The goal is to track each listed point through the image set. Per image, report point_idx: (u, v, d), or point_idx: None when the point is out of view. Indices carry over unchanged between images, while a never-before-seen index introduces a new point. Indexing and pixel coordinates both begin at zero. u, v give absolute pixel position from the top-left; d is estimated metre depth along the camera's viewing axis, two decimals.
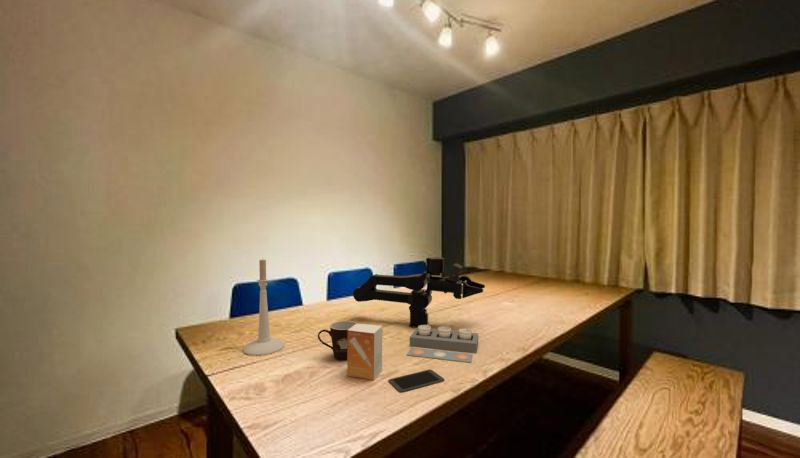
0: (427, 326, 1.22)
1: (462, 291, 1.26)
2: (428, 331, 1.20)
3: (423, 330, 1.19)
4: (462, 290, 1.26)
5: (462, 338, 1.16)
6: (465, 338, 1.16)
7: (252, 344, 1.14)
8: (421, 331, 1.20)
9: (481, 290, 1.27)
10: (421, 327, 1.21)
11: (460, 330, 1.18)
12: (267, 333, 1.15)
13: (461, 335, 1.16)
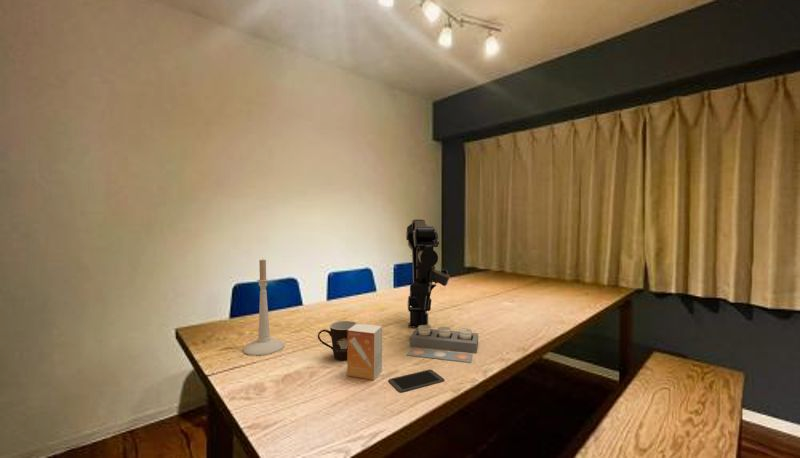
0: (427, 326, 1.22)
1: (419, 291, 1.14)
2: (428, 331, 1.20)
3: (423, 330, 1.19)
4: (420, 291, 1.14)
5: (462, 338, 1.16)
6: (465, 338, 1.16)
7: (252, 344, 1.14)
8: (421, 331, 1.20)
9: (422, 308, 1.17)
10: (421, 327, 1.21)
11: (460, 330, 1.18)
12: (267, 333, 1.15)
13: (461, 335, 1.16)
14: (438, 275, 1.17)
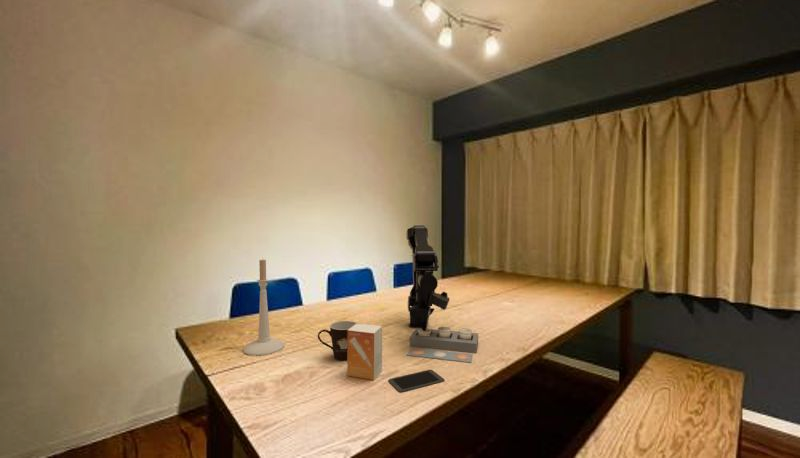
0: (427, 330, 1.22)
1: None
2: (428, 335, 1.20)
3: (423, 334, 1.19)
4: None
5: (462, 338, 1.16)
6: (465, 338, 1.16)
7: (252, 344, 1.14)
8: (421, 335, 1.20)
9: (424, 329, 1.21)
10: (421, 331, 1.21)
11: (460, 330, 1.18)
12: (267, 333, 1.15)
13: (461, 335, 1.16)
14: (438, 299, 1.17)
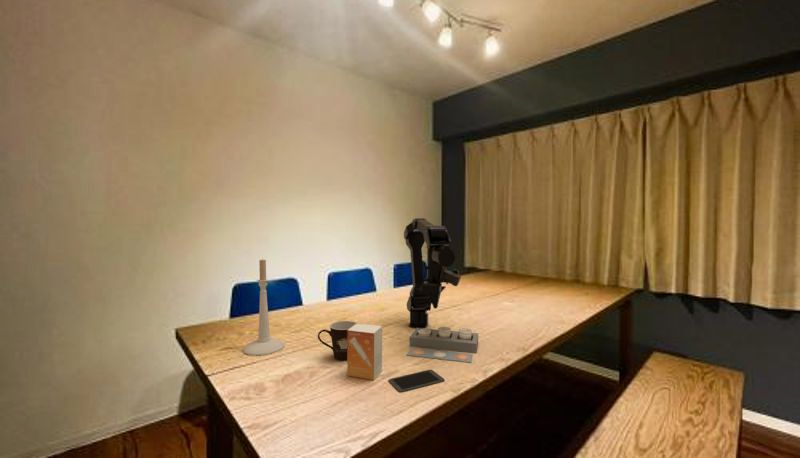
0: (427, 330, 1.22)
1: None
2: (428, 335, 1.20)
3: (423, 334, 1.19)
4: None
5: (462, 338, 1.16)
6: (465, 338, 1.16)
7: (252, 344, 1.14)
8: (421, 335, 1.20)
9: (435, 307, 1.19)
10: (421, 331, 1.21)
11: (460, 330, 1.18)
12: (267, 333, 1.15)
13: (461, 335, 1.16)
14: (449, 275, 1.15)
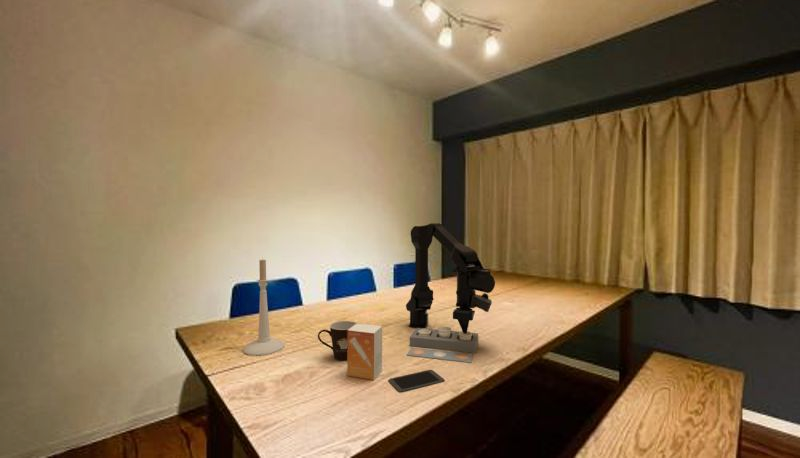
0: (427, 330, 1.22)
1: None
2: (428, 335, 1.20)
3: (423, 334, 1.19)
4: None
5: None
6: None
7: (252, 344, 1.14)
8: (421, 335, 1.20)
9: (465, 332, 1.17)
10: (421, 331, 1.21)
11: (460, 333, 1.18)
12: (267, 333, 1.15)
13: (461, 338, 1.16)
14: (480, 301, 1.13)
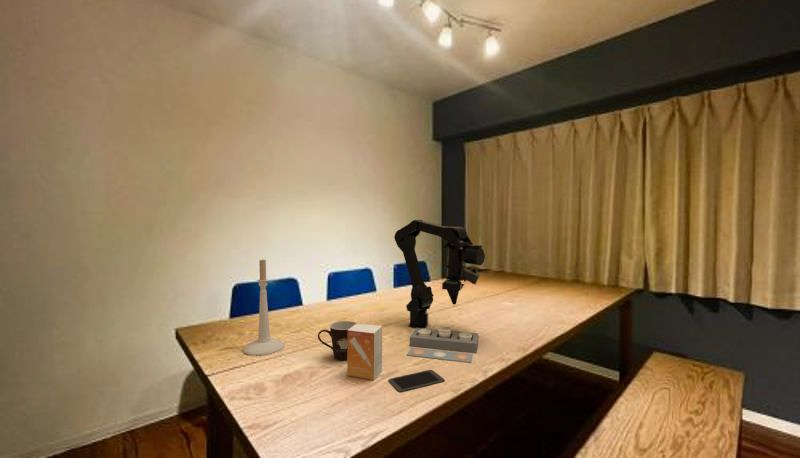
0: (427, 330, 1.22)
1: None
2: (428, 335, 1.20)
3: (423, 334, 1.19)
4: None
5: None
6: None
7: (252, 344, 1.14)
8: (421, 335, 1.20)
9: (454, 303, 1.27)
10: (421, 331, 1.21)
11: (460, 334, 1.18)
12: (267, 333, 1.15)
13: (461, 339, 1.16)
14: (469, 274, 1.23)
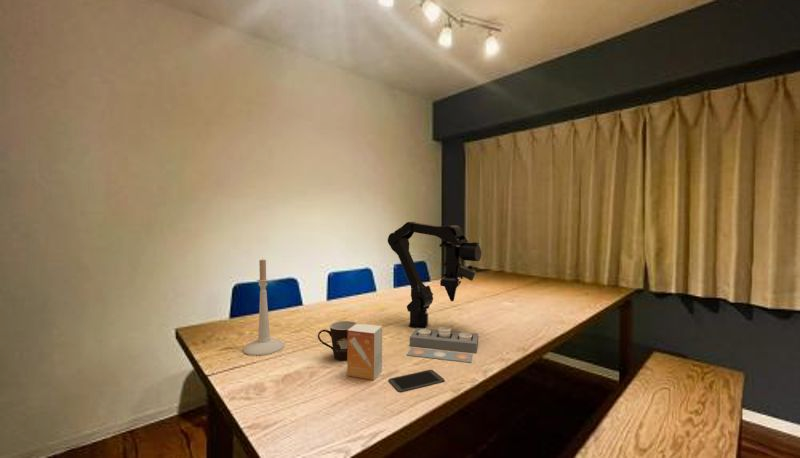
0: (427, 330, 1.22)
1: None
2: (428, 335, 1.20)
3: (423, 334, 1.19)
4: None
5: None
6: None
7: (252, 344, 1.14)
8: (421, 335, 1.20)
9: (452, 299, 1.30)
10: (421, 331, 1.21)
11: (460, 334, 1.18)
12: (267, 333, 1.15)
13: (461, 339, 1.16)
14: (465, 270, 1.26)
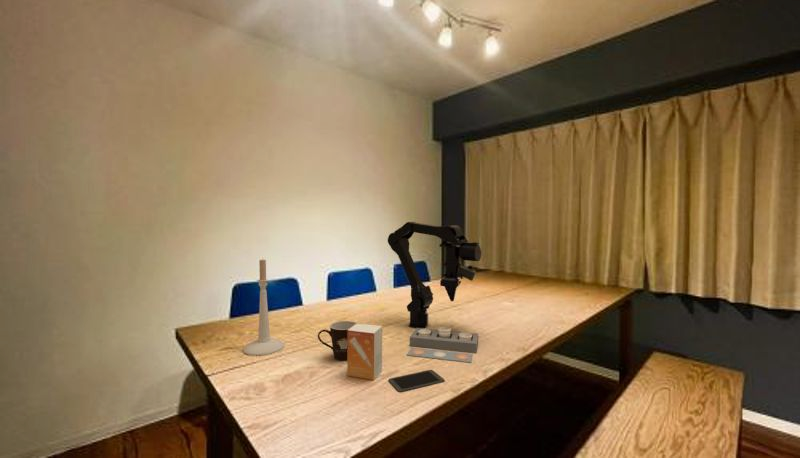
0: (427, 330, 1.22)
1: None
2: (428, 335, 1.20)
3: (423, 334, 1.19)
4: None
5: None
6: None
7: (252, 344, 1.14)
8: (421, 335, 1.20)
9: (452, 299, 1.30)
10: (421, 331, 1.21)
11: (460, 334, 1.18)
12: (267, 333, 1.15)
13: (461, 339, 1.16)
14: (465, 270, 1.26)
